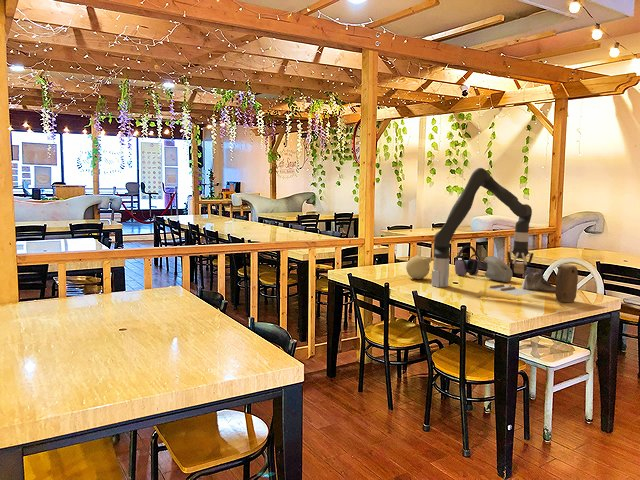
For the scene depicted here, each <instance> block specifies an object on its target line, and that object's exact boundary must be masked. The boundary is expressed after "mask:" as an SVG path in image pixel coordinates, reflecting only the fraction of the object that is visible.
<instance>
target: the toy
mask: <svg viewBox="0 0 640 480" xmlns="http://www.w3.org/2000/svg"><path fill="white" fill-rule="evenodd" d="M432 261H433V257H424V256H422V255H420V254H419V253H417V254H416V255H414V256H413V257H411V258H409V259H408V261H407V262H406V265H405V269H406V273H407V274H408V275H409V277H411V278H412V279H413V280H414V279H415V280H421V279H424V278H426V277H427V276H428V274H429V273H430V271H431V269H430V267H431V265H430V264H431V263H432Z"/></svg>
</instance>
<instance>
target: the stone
mask: <svg viewBox="0 0 640 480" xmlns="http://www.w3.org/2000/svg"><path fill="white" fill-rule="evenodd" d="M555 276H556V277H555V286H554V287H555V293H554V294H555V299H556V300H557V301H558V302H562V303H573V302H575V299H576V297H577V294H578V293H577V292H578V281H579V271H578V267H577V266H575V265H573V264H572V265H571V264H569V263H562V264H560V265H559V266H558V267H557V273H556V275H555Z"/></svg>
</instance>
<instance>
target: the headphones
mask: <svg viewBox="0 0 640 480" xmlns="http://www.w3.org/2000/svg"><path fill="white" fill-rule="evenodd" d="M467 248H470V249H471V250H472V252H473V254H471V256H470V257H469V259H468V260H467V262H466V260H465V259H464V257H463V256H462V255H461V254H462V253H463V252H464V250H466V249H467ZM473 257H477V259H475V258H473ZM458 258H460V259H458ZM480 260H481V259H480V256H479V255H478V254H477V250H476V249H475V247H473V246H471V245H464V246H463V247H461V249H460V251H458V255H456V256H455V257H454V271H455V274H456V275H457V276H459V277H463V276H466V275H467V274H471V275H474V274H475V275H478V274H479V270H480V263H481V262H480Z"/></svg>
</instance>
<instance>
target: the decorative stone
mask: <svg viewBox="0 0 640 480" xmlns="http://www.w3.org/2000/svg"><path fill="white" fill-rule="evenodd" d="M483 261H484V262H485V263H486V264H487V270H486V271H485V272H484V276H485V277H486V278H487V279H488V280H493V281H497V282H501V283H502V282H503V283H508V282H510V281H511V280H512V278H513V269H512V268H511V267H510V266H509V265H508V264H507V263H506V262H504V261H503V260H502V259H501V258H499V257H497V256H493V255H490V256H486V257H485V258H484V259H483Z"/></svg>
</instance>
